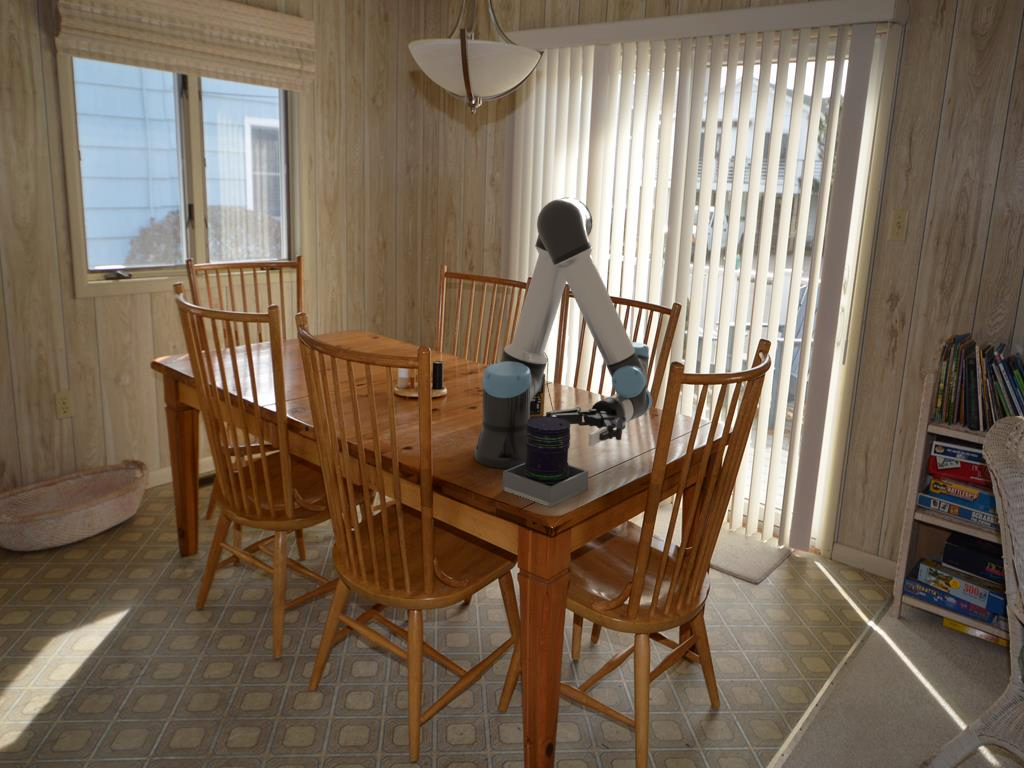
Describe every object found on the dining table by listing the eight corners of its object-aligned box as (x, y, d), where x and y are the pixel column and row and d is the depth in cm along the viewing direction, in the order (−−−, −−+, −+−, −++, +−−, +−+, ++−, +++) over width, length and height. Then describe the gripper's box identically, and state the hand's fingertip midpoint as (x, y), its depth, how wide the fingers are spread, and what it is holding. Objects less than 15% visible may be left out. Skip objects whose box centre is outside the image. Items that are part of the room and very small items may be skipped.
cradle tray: (502, 490, 175) (503, 471, 174) (540, 474, 185) (541, 456, 184) (550, 507, 167) (551, 487, 166) (587, 489, 177) (588, 471, 176)
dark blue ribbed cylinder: (518, 490, 173) (520, 426, 169) (530, 475, 182) (532, 413, 178) (562, 497, 170) (565, 431, 166) (572, 481, 179) (575, 418, 175)
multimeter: (514, 426, 220) (516, 357, 215) (505, 416, 229) (507, 349, 224) (564, 423, 224) (567, 355, 219) (553, 413, 233) (555, 347, 228)
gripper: (656, 437, 185) (611, 462, 169) (568, 417, 200) (518, 437, 183) (658, 407, 183) (613, 429, 167) (569, 388, 198) (519, 407, 181)
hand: (564, 433), depth 175 cm, fingers open, 13 cm apart
